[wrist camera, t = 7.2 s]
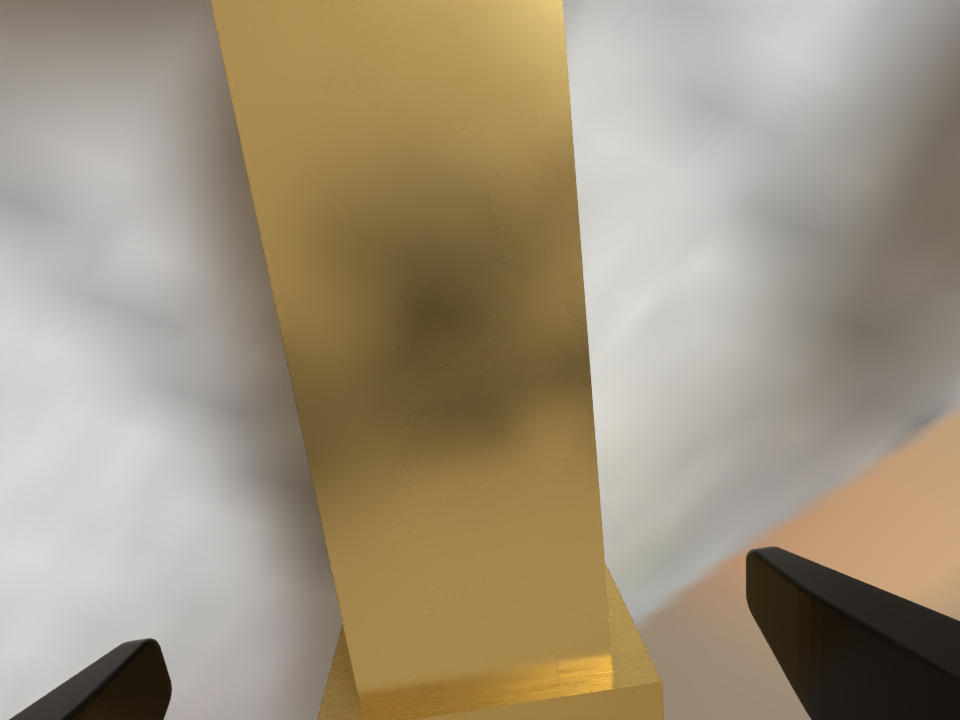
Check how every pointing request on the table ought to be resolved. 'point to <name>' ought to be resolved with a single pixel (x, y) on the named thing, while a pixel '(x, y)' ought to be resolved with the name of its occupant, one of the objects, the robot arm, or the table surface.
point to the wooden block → (438, 350)
